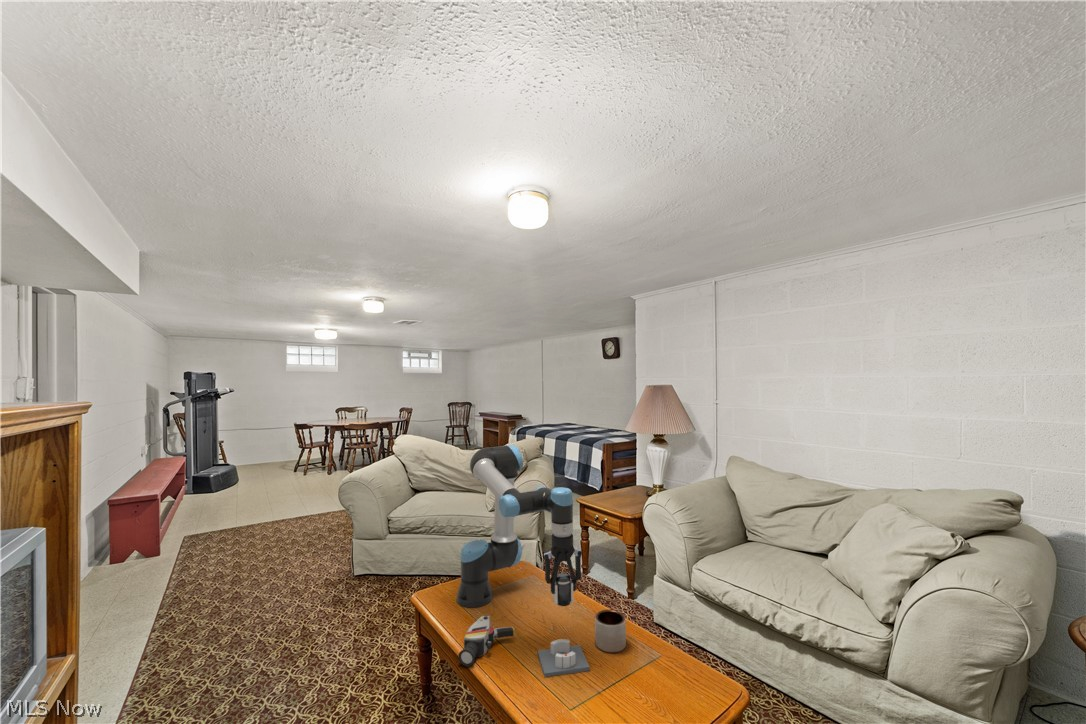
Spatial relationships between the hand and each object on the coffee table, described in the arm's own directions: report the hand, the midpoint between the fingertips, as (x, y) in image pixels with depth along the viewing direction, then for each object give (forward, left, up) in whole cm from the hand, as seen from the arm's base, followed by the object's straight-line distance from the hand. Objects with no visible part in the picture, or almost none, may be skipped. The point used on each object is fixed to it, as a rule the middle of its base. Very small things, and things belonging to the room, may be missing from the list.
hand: (563, 601), depth 155 cm
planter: (-1, +17, -18) cm, 25 cm away
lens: (0, 0, -1) cm, 1 cm away
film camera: (-7, -26, -18) cm, 32 cm away
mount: (+5, -2, -17) cm, 18 cm away
